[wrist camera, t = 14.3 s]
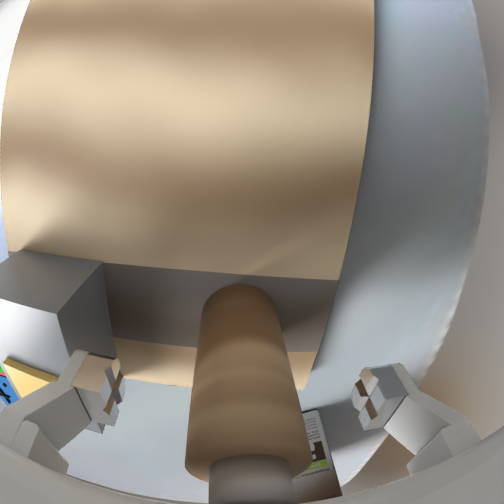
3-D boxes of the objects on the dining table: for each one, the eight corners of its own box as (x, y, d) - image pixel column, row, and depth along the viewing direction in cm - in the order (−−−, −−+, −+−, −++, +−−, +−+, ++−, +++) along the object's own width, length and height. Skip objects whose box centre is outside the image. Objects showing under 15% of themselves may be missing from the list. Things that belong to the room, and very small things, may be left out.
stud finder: (20, 249, 10) (-37, 292, 6) (103, 261, 10) (50, 321, 6) (49, 357, 12) (19, 409, 8) (121, 376, 13) (100, 440, 9)
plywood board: (52, -19, 5) (41, -26, 4) (362, -23, 7) (372, -33, 6) (48, 345, 14) (40, 356, 12) (300, 374, 15) (304, 389, 14)
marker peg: (203, 281, 11) (175, 487, 4) (282, 286, 11) (342, 481, 4) (201, 342, 12) (187, 517, 5) (270, 345, 13) (302, 515, 5)
